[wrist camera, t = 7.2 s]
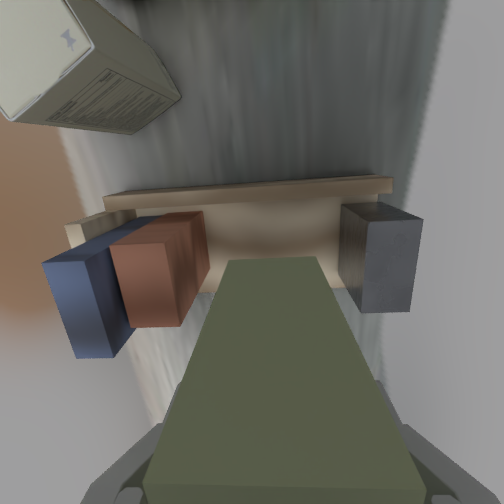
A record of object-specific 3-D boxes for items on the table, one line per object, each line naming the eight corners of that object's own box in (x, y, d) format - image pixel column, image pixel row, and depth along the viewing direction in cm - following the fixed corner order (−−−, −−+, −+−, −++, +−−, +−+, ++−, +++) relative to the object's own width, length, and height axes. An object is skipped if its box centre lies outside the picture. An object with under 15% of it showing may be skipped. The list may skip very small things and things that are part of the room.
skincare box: (154, 48, 22) (30, -69, 11) (183, 98, 23) (101, 43, 12) (97, 93, 24) (-66, 33, 12) (128, 138, 25) (6, 124, 13)
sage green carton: (315, 256, 12) (427, 490, 4) (314, 385, 15) (377, 701, 6) (228, 260, 12) (141, 483, 4) (242, 386, 15) (207, 688, 6)
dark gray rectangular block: (341, 204, 24) (368, 222, 18) (380, 201, 24) (423, 219, 17) (337, 274, 26) (360, 313, 20) (374, 272, 26) (409, 311, 20)
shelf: (125, 191, 26) (-1, 222, 14) (374, 174, 24) (482, 193, 12) (148, 289, 30) (63, 382, 18) (365, 281, 28) (441, 380, 16)
